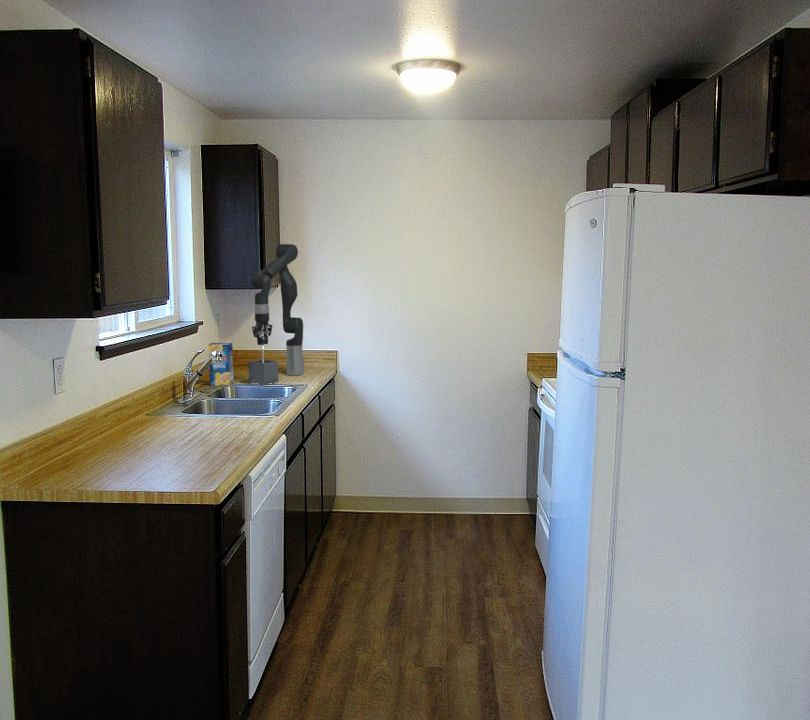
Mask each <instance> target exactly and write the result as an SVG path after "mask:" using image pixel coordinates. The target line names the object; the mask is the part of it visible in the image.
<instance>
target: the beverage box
mask: <svg viewBox="0 0 810 720" xmlns="http://www.w3.org/2000/svg"><path fill="white" fill-rule="evenodd" d="M233 349H234V348H233V342H211V343H208V358H209V357H210V355H211V353H212V352H214V351H219V352H221V353H222V354H223V357H224V359H223V361H222V362H216V361H212V362H211V363H210V365H208V366H209V386H219V385H220V384H231V383H232V382H234V381H235V380H234V378H235V377H234V352H233V351H234V350H233Z"/></svg>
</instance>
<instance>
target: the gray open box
mask: <svg viewBox="0 0 810 720" xmlns="http://www.w3.org/2000/svg"><path fill="white" fill-rule="evenodd" d="M247 367H248V384H249V383H258V384H264V385H265V384H269V383H275V382H278V383H279V361H278V360H273V359H272V360H271V359H269V360H268V359H264V363H262V359H258V360H257V359H256V360H251V361H248V366H247Z"/></svg>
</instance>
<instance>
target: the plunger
mask: <svg viewBox="0 0 810 720" xmlns="http://www.w3.org/2000/svg"><path fill="white" fill-rule="evenodd" d="M261 339H262V345H261V360H262V363H264V360H265V344H264V342H266V336H264V335H262V336H261Z"/></svg>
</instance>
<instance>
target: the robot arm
mask: <svg viewBox="0 0 810 720" xmlns="http://www.w3.org/2000/svg"><path fill="white" fill-rule="evenodd" d="M275 255H276V256H275V257H276V259H274V260H271V262H269V263H268V264H267V265H265V267H264V268H263V269H261V270H260V271H258V272H256V273H255V274H254V275H253V276H252V277H251V280H250V284H251V287H253V288H255V289H261V290H260V292H257V293H255V294H254V321H255V325H254V326H251V329H252V334H253V337H254V338H256V341H257V345H258V346H262V339H261V336H266V342H264V345H268V343H269V337H270V336H272V331H273V324H270V323H269V322H270V306H269V295H270V290H271V286H272V280H273V279H274V278H275V276H277V275H278V274H279V282H280V283H279V284H280V293H281V305H282V306H281V307H282V329H283V331H284V332H285V333H286V334H294V335H293V337H292V338H288V339H286V345H285V346H286V352H285V353H286V375H287V376H303V374H305V364H304V363H305V361H304V360H305V359H304V357H303V342H304V341H303V340H304V321H303V319H302V318H301V317H292V316H291V311H292V308H293V305H294V303H295V302H296V299H297V297H298V284H297V281H296V279H295V278H294V276H293V275H292V273H291V272H290V270H289V266H288V265H289V264H291V263H292V262H293V261H295V260H296V259H297V257H298V255H299V250H298V246H296V245H295V244H292V243H286V244H285V243H279V244H278V245H277V246H276V250H275Z"/></svg>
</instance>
